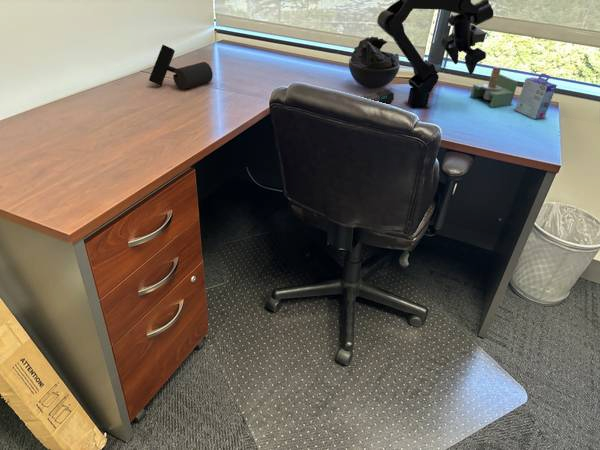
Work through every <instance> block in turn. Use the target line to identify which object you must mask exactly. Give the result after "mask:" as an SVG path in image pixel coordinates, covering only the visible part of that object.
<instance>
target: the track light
mask: <svg viewBox="0 0 600 450" xmlns="http://www.w3.org/2000/svg"><path fill="white" fill-rule="evenodd" d="M175 52H176V50H175V49H174V48H172V47H170V46H168V45H165V44H162V45H161V48H160V50H159V53H158V55H157V58H156V59H155V63H154V65H153V68H152V70H151V73H150V76H149V78H148V81H149V82H151V83H153V84H155V85H158V86H159V87H162V85H163V83H164V81H165V77H166V75H167V72H171V73H174V74H173V75H172V77H173V78H172V79H173V82H174V84H175V86H176V87H177V88H178V89H179V90H181V91H182V90H183V91H184V90H187V89H190V88H193V87H196V86H199V85H200V86H201V85H203V84H204V85H205V84H207V83H210V82H212V80H213V78H214V77H213V75H214V74H213V69H212V67H211V66H210V65H209V63H208V62H206V61H202V62H198V63H194V64H190V65H186V66H183V67H182V66H181V67H179V68H176V67H174V66H170V64H171V62H172V61H173V58H174V55H175Z"/></svg>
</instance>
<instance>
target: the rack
mask: <svg viewBox="0 0 600 450" xmlns="http://www.w3.org/2000/svg"><path fill="white" fill-rule="evenodd" d="M518 83H519V81H518V80H515V79H513V78H510V77H507V76H505V75H503V74H501V73H500V74H499V77H498V80H497V84H496V85H498V86H500V87H501V90H500V91H490V92H489V93H488V94H489V95H491V96H493V97H492V100H490V103H489V107H490V108H497V107H504V106H505V107H506V106H510V105H512V103H513V99H514V96H515V93H516V90H517V87H518ZM483 84H489V82H482V83H474V84H473V85H472V89H471V92H470V98H472V99H474V98H482V97H484V94H485V91H486V90H485V89H483V88H482V85H483Z"/></svg>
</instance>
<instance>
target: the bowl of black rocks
mask: <svg viewBox="0 0 600 450" xmlns="http://www.w3.org/2000/svg"><path fill="white" fill-rule="evenodd" d="M387 43H388V41H386V40H384V38H379V37H378V36H370V37H369V36H368V37H366V38H364V39H361V40H359V41H358V45H357V46H355V47H354V50H353V51H352V53H351V56H350V58H349V59H348V68H349V72H350V74H351V76H352V78H353V80H354V81H355V82H356V83H357V84H358V85H359V86H361V87H363V88H366V89H371V90H376V89H380V88H381V89H382V88H383V87H385V86H387V85H389V84H390V83H391V82H392V81H393V80H394V79H395V78H396V76H397V75H398V73H399V70H400V68H401V64H400V56H399V54H398V53H395V54H394V53H393V52H388V51H382V48H383V46H384V45H386V44H387Z"/></svg>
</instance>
